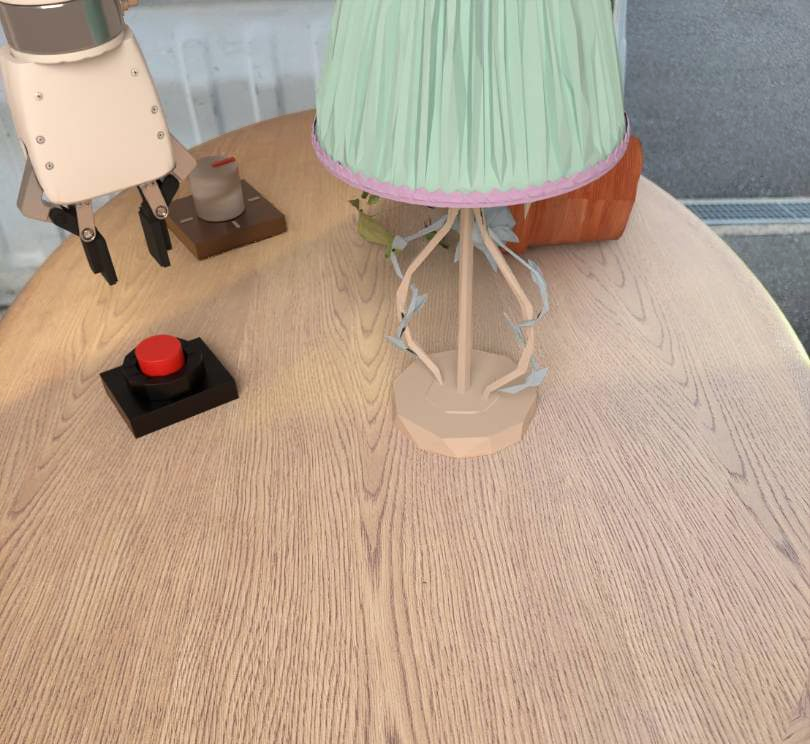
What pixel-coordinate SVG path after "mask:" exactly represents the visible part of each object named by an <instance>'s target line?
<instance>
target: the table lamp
mask: <svg viewBox="0 0 810 744" xmlns="http://www.w3.org/2000/svg"><path fill="white" fill-rule="evenodd" d="M326 41H327V42H326V46H325V53H324V56H323V61H322V66H321V71H320V76H319V81H318V86H317V91H316V97H315V114H314V118H313V122H312V125H311V130H310V132H311V133H310V136H311V137H310V138H311V142H310V143H311V146H312V149H313V152H314V155H315V156H316V159H317V160H318V161H319V163H320V164H321V165H322V166H323V167H324V169H326V170H327V171H328V172H329V173H330V174H331V175H333V176H334V177H336V178H337V179H339V180H340V181H342V182H343V183H345V184H347V185H349V186H351V187H353V188H355V189H357V190H359V191H362V192H363V191H365V192H368V194H370V195H371V194H373V195H377V196H380V198H385V199H389V200H392V201H396V202H400V203H405V204H408V203H410V205H419V206H425V205H426V206H425V207H427V206H431V207H433V208H448V211H447V214H448V215H447V214H444V215H442V216H440V217H437V218H434V219H431V225H430V224H429V225H427V226H428V227H426V228H425V227H424V228H423V229H421V230H419V231H418V232H416V233H415V234H412V235H410V236H407V237H404V238H403V236H401V235H399V234H398V235H395V236H394V241H393V243H392V248H391V255H390V257H389V258H390V260H391V262H392V265H393V268H394V271H395V273H396V275H397V276H398V277H399V278H400V279H401V282H400V285H399V287H398V288H397V291H396V317H397V319H398V322H399V325H398V327H397V331H396V335H395V337H394V336H391V335H386V334H385V338H386V340H387V342H388V343H389V344H391V345H392V346H394V347H395V348H397V349H398V350H400V351H403V352H406V353H409V354H410V355H412V356H414V357H416V359H415V360H414V361H413V362H412V363H411V364H410V365H409V366H407V368H405V369H404V370H403V371H402V372H401V373H400V374H399V375H398V376H397V377H396V378H395V379H394V380H393V381H392V425H393V426H394V428H396V429H397V430H398V431H399V432H400V433H401V434H402V435H404V436H405V437H406V438H407V439H408V440H409V441H410V442H411V443H412V444H414V445H415V446H416V447H417V448H418V449H419V450H421V451H427V452H430V453H433V454H437V455H442V456H445V457H449V458H453V459H456V460H457V459H458V460H459V459H460V460H461V459H467V458H468V459H469V458H474V457H475V458H477V457H484V456H490V455H495V454H496V453H499V452H501V451H503V450H505V449H507V448H509V447H511V446H513V445H516V444H517V443H519V442H522V440H523V437H524V435H525V433H527V430H528V428H529V427H530V424H531V423H532V421H533V418H534V416H535V415H536V410H537V401H538V392H537V389H536V387H537V386H538V387H539V386H540V385H541V384H542V383H543V381H544V379H545V378H546V377H547V374H548V372H549V369H550V366H547V367H544V368H540V369H538V368H539V366H538V364H537V362H536V360H535V358H534V356H533V350H534V348H535V344H536V340H537V337H538V336H537V330H536V324H537V323H538V322H539V321H540V320H542V319H543V318H544V316H545V315H546V314H547V313H548V312H549V309H550V308H549V300H548V293H547V289H548V286H547V283H546V280H545V277H544V274H543V272H542V270H541V268H540V266H539V265H537V263H536V262H535V261H533V260H532V259H530V258H527V260H528V262H527V261H526V260H524V259H523V258H521V256H520V255H518V254H517V253H514V252H512V251H511V250H510V249H508V248H507V247H506V246H505V244H506V242H507V241H509V242H518V243H519V239H518V237H517V236H516V235H515V234H514V233H513V231H512V230H513V228H514V226H515V224H516V222H515V220H514V218H513V216H512V214H511V212H510V210H509V208H508V205H515V204H522V203H524V214H525V218H526V215H527V213H528V210H529V207H530V205H531V202H535V201H538V200H543V199H547V198H550V197H554V196H557V195H561V194H564V193H567V192H570V191H573V190H575V189H578V188H580V187H582V186H585V185H587V184H589V183H590V182H592V181H594V180H596V179H598V178H600V177H601V176H602V175H604V174H606V173H607V172H608V171H609V170H610V169H612V168H613V167H614V166H615V165H616V164H617V163H618V162H619V160H620V159H621V158H622V157H623V156H624V153H625V151H626V149H627V146H628V142H629V138H630V136H631V131H632V130H631V129H632V128H631V125H630V119H629V115H628V113H627V112H626V109H625V106H624V89H623V88H624V87H623V70H622V60H621V55H620V50H619V45H618V40H617V34H616V29H615V23H614V15H613V9H612V3H611V0H335V3H334V7H333V13H332V17H331V22H330V26H329V32H328V36H327V40H326ZM459 209H461V212H460V215H459V216H457V217H456V215H457V213H458V211H459ZM451 229H452V230H455V231H457V233H458V234H459V242H458V243H457V245H456V247H455V254H454V259H453V263H457V262H458V261H459V263H458V265H459V266H458V268H459V269H458V313H457V314H458V315H457V317H458V318H457V349H451V350H446V351H440V352H433V353H428V354H427V353H426V352H425V350H424V349H423V348H422V346H421V345H420V344H419V343H418V342H417V340H416V339H415V338H414V335H413V332H412V328H411V326H410V323H409V321H410V319H411V317H412V315H413V313H414V312H415V313H417V312H418V311H420V310H421V309H422V307H423V306H424V305H425V303H426V301H427V298H428V296H429V292H426V293H424V294H421V295H419V288H418V287H417V286H416V285H414V284H413V283H412V282H411V277H412V274H413V273H414V272H415V271H416V270H417V269H418V268H419V266H420V265H421V264H422V263H423V262H424V261H425V259H426V258H427V257H428V256H429V254H430V253H432V251H433V250H434V249H435V248H436V246H437V245H439V244H438V243H439V242H440V240H443V239H444V237H446V235H447V234H448V232H450V230H451ZM432 231H436V232H437V233H436V234H435V235H434V236H433V238H432V239H431V240H428V242H427V243H426V244H425V245H424V246H423V248H422V249H421V250H420V251H419V253H417V255H416V256H415V257H414V258H413V259H412V261H411V262H410V264H409V266H408V268H407V270H406V272H405V274H404V275H403V274H402V271H401V267H400V265H399V262H398V259H397V256H396V255H395V251H396V250H397V249H401V250H403V249H404V248H405V249H406V246H408V242H409V241H412V240H414V239H417V238H419V237H422V236H424V235H425V236H426V234H427V233H430V232H432ZM498 246H500V247H503V248H504V249H505V250H506V251H508V252H509V253H508V254H510V255H511V256H513V257H514V258H515V259H516V260H517V261H519V262H520V263H521V264H522V265H523V266H525V267H526V268H527V269H528V270H529V272H530V275H531V278H532V281H533V282H534V283H535V284H536V285H537V286H538V289H539V292H540V295H541V299H542V303H543V307H542V309H541V310H540V311H539V313H538V314H537V316H536V317H535V316H534V315H535V314H534V309H533V308H534V307H533V305H532V303H531V302H530V300H529V299H528V296H527V295H526V293H525V291H524V290H523V288H522V287H521V285H520V283H519V281H518V280H517V278H516V275H515V274H514V272H513V271H512V269H511V267H510V265H509V264H508V262H507V261H506V258H505V257H504V255H503V253H501V252H500V250H499V248H498ZM474 247H475V248H476V249H478V250H480V251H481V252H483V254H484V255H485V257H486V259H487V261H488V262H489V264H490V265H491V268H492V269H493V271H494V273H495V274H498V269H499V270H500V272H501V274H502V275H503V277H504V279H505V281H506V282H507V284H508V286H509V288H510V289H511V291H512V292H513V294H514V296H515V297H516V299H517V301H518V303H519V306H520V310H521V314H522V319H523V322H519V323H517V324H516V326H515V324H514V323H513V322H512V320H511V319H510V318H509V316H508V315H507V313H506V312H505V311H503V314H504V316H505V319H506V321H507V324H508V325H509V327H510V329H511V331H512V333H513V335H514V337H515V339H516V340H517V342H521V343H522V346H523V348H524V349H523V352H522V354H521V357H520V359H519V362H518V363H516V362H515V361H514V360H512V359H511V358H510V357H508V356H506V355H502V354H496V353H492V352H488V351H485V350H479V349H475V348H472V320H473V319H472V318H473V280H474V279H473V278H474V276H473V275H474ZM405 249H404V250H405ZM409 288H410V289H411V291H412V292H411V293H412V297H411V300H410V304H409V306H408V308H407V310H405V303H406V299H407V295H408V290H409ZM418 295H419V296H418ZM522 328H525V332H526V335H527V336H526V339H525V337H524V335H523V331H522ZM403 335H404V338H405V340H406V342H407V345H408V346H406V344H405V342H404V340H402V339H403ZM519 339H520V340H519ZM409 347H410V348H409ZM530 363H531V365H532V369H531V372H530V373H529V372H528V371H527V370H528V367H529V364H530Z"/></svg>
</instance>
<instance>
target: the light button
mask: <svg viewBox="0 0 810 744" xmlns="http://www.w3.org/2000/svg"><path fill="white" fill-rule="evenodd" d="M176 337H177V336H174V335H170V334H155V335H152V336H149V337H146V338H144V339H143V340H141V341H140V342H139V343H138V344H137V345H136V346H135V347H136V350H135V354H136V357H137V360H138V363H139V366H140V369H141V371H142V372H143V373H144V374H146V375H148V376H165V375H168V374H171V373H173V372H176V371H178V370H179V369H180V368H181V367H183V365H184V362H185V358H184V354H183V350H182V346H181V343H180V341H179V340H178V339H177V338H176Z"/></svg>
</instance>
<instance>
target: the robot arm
mask: <svg viewBox="0 0 810 744" xmlns="http://www.w3.org/2000/svg"><path fill="white" fill-rule="evenodd" d="M138 5H139V0H0V24H1V27H2V30H3V33H4V36H5V38H6V42H7V43H5V44H2V45H1V46H0V74H1V79H2V85H3V89H4V93H5V97H6V102H7V106H8V109H9V113H10V117H11V120H12V123H13V127H14V130H15V133H16V137H17V141H18V143H19V146H20V150H21V153H22V156H23V159H24V162H25V165H24V170H23V172H22V173H23V174H22V178H21V183H20V187H19V189H18V194H17V195H18V196H17V199H16V208H17V209H18V210H19V212H20V214H21V215H22V216H23V217H25V218H27V219H32V220H37V221H40V222H43V223H51V224H53V225H55V226H56V227H58V228H60V229H62V230H64V231H67V232H69V233H71V234H73V235H75V236H77V237H79V239H80V243H81V245H82V248H83V251H84V255H85V257H86V261H87V263H88V266H89V268H90V270H91V271H92V273H93V274H94V275H98V274H101V276H102V277H103V279H104V280H105V281H106V283H107V284H108V285H109V286H110V287H111V286H115V285H117V283H118V282H119V278H118V277H117V272H116V269H115V267H114V263H113V260H112V256H111V253H110V250H109V247H108V243H107V240H106V238H105V237H104V236H103V235H102V233H101V232H100V231H99V229H98V227H97V226H96V224H95V223H96V222H95V216H94V215H95V214H94V208H93V200H94V199H98V198H102V197H105V196H109V195H112V194H115V193H119V192H122V191H125V190H129V189H132V188H135V189H136V192H137V193H138V196H139V198H140V200H141V203H140V206H139V207H138V209H139V210H138V211H137V214H138V217H139V221H140V225H141V228H142V231H143V235H144V239H145V243H146V246H147V250H148V252H149V254H150V256H151V257H152V258H153V259H154V260H155V262H156V263H157V264H158V265H159V267H160V268H164V269H166V268H169V267H171V266H172V265H171V261H170V256H169V254H168V253H169V251H172V250H173V245H172V240H171V237H170V232H169V228H168V226H167V224H166V220H165V218H166V217H167V215H168V213H169V210H168V206H169V205H170V203H171V201H173V199H174V197H175V196H176V194H177V193H178V190H179V189H180V184H181V183H182V182H184V181H185V180H186V179H188V175H189V174H190V173H191V172H192V171H193V170H194V169H195V167H196V166H197V160H198V159H196V157H195V156H194V155H193V154H192V153H191V152H190V151H189V150H188V149H187V148H186V147H185V146H184V144H182V143H181V142H180V141H179V140H178V139H177V138H176V136H175V135H173V134H172V132H170V129H169V125H168V122H167V119H166V115H165V112H164V109H163V106H162V103H161V99H160V98H159V94H158V90H157V88H156V84H155V82H154V80H153V76H152V74H151V71H150V68H149V66H148V63H147V60H146V58H145V55H144V53H143V50H142V48H141V46H140V44H139V42H138V39H137V37H136V34H135V33H134V31H133V29H132V28H131V26H129V24H127V23H126V22H125V18H124V17H125V11H129V8H134V7H137V6H138ZM44 194H45V196H46V199H48V200H46V199H44V198H43V195H44Z"/></svg>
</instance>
